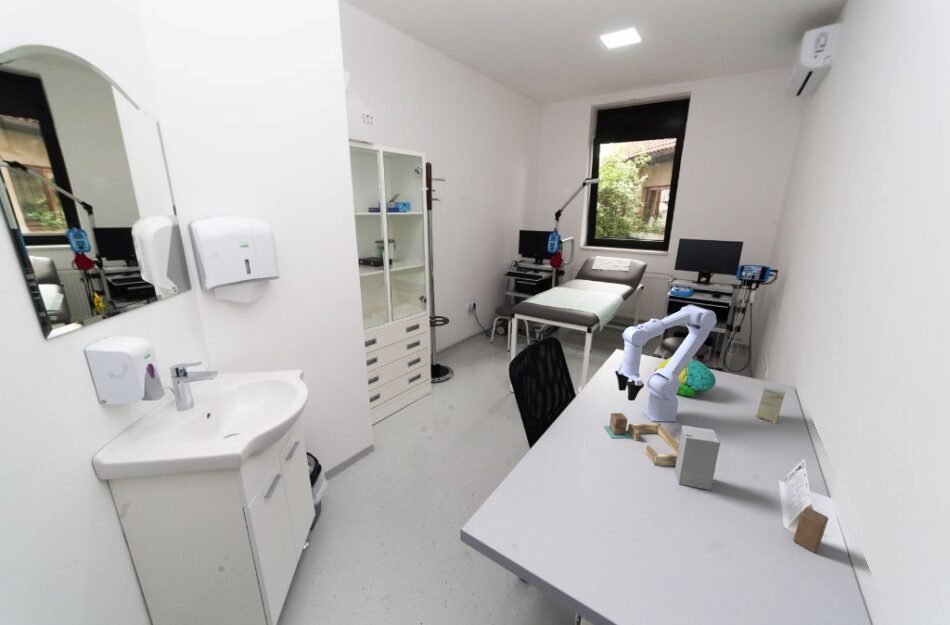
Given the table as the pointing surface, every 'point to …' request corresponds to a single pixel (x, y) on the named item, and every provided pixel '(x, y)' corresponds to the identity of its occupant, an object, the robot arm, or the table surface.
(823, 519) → the wooden block
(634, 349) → the robot arm
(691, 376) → the brain model
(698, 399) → the table surface
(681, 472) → the skincare box
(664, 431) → the open wooden frame
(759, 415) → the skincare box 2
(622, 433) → the walnut block
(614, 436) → the mat
